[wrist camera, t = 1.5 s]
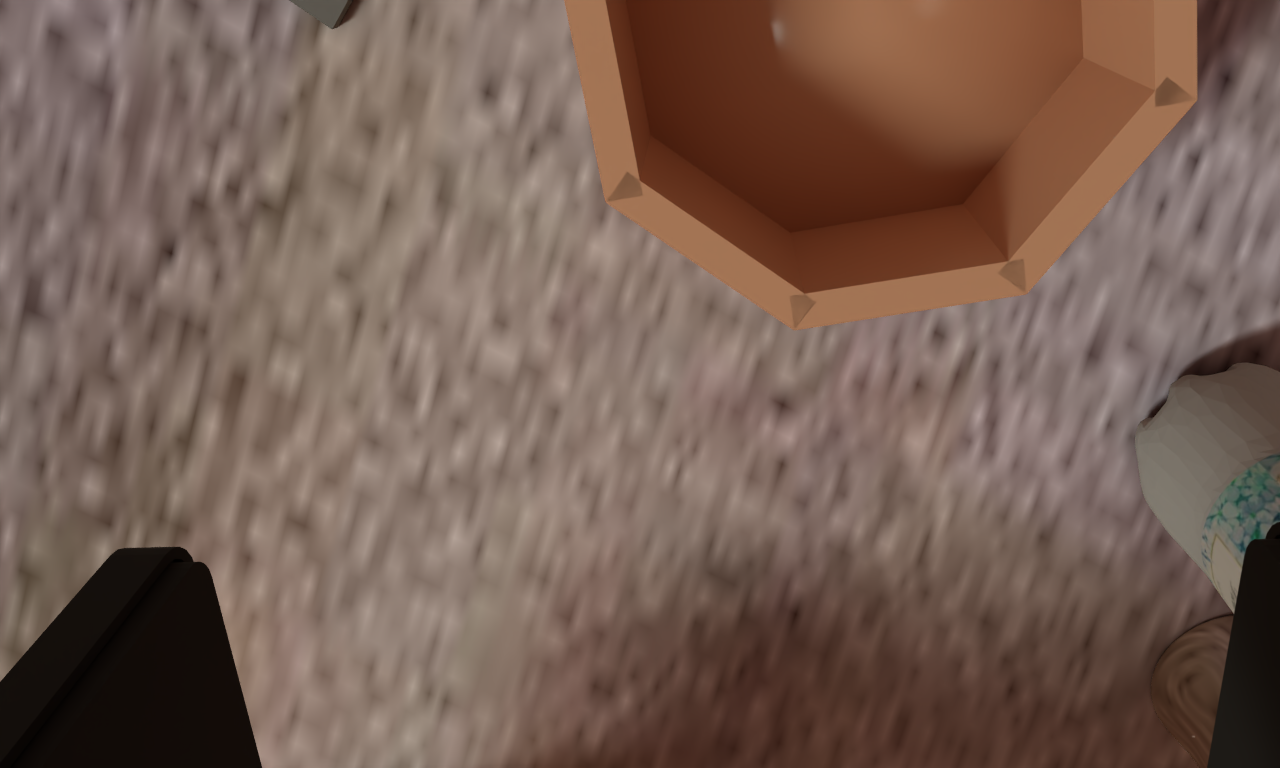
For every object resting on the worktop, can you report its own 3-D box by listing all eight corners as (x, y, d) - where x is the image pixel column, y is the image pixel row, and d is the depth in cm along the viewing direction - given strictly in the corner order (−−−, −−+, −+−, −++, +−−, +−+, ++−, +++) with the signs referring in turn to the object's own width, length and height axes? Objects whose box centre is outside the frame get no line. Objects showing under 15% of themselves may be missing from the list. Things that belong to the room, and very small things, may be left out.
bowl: (884, 328, 39) (919, 415, 32) (507, 66, 36) (463, 106, 30) (1215, -68, 33) (1334, -57, 27) (801, -409, 31) (825, -486, 24)
